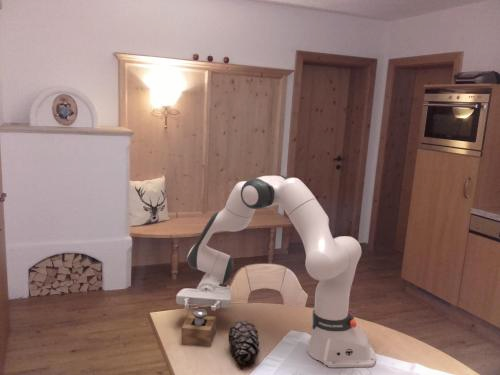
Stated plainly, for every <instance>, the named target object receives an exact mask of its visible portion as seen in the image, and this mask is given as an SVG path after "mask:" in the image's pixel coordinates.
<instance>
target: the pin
mask: <svg viewBox="0 0 500 375" xmlns="http://www.w3.org/2000/svg"><path fill="white" fill-rule="evenodd" d="M192 315H194V316H195V324H194V325H197V326H204V317H206V316H208V311H207V309H204V308H195V309H193V311H192Z"/></svg>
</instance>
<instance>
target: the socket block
mask: <svg viewBox="0 0 500 375" xmlns="http://www.w3.org/2000/svg"><path fill="white" fill-rule="evenodd" d="M194 324H195V316H194V315H193V314H188V315H187V317H186V319H185V320H184V322H183V325H182V326H181V345H185V346H186V345H188V346H189V345H190V346H197V347H198V346H199V347H211V345H212V343H213V340H214V337H215V335H216V330H217V329H216V328H217V316H214V315H213V316H210V315H207V316H206V317H204V326H197V325H194Z"/></svg>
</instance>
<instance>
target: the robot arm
mask: <svg viewBox="0 0 500 375" xmlns="http://www.w3.org/2000/svg"><path fill="white" fill-rule="evenodd" d="M278 205H279V206H281V208H282V209H283V210H284V212H285V213H286V215H287V216H288V218H289V220H290V221H291V223H292V224H293V226H294V229H295V230H296V231H297V233H298V235H299V237H300V239H301V241H302V244H303V247H304V252H305V262H304V263H305V265H304V266H305V269H306V272H307V274H308V275H309V276H310V277H311V278H312V279H314V280H316V281H319V282H318V283H317V285H316V288H315V292H314V294H315V295H314V309H313V310H312V314H311V326H312V330H311V335H310V339H309V343H308V345H307V350H306V352H307V353H308V354H309V356H310V357H311V358H313V359H314V360H317V361H318V360H319V361H318V362H320V361H321V363H322V362H323V363H324V364H323V363H322V364H323V365H324V366H326V365H327V366H328V367H327V366H326V367H327V368H367V367H368V368H369V367H374V365H375V364H376V361H377V357H376V352H375V350H374V348H373V347H372V345H370V343H369V339H368V337H367V335H366V334H365V332H364V331H363V330H362V329H360V328H359V327H358V326H357V322H356V320H355V317H354V315H353V314H352V312H349V306H350V294H351V289H352V284H353V282H354V278H355V274H356V270H357V266H358V263H359V260H360V258H361V257H362V253H363V252H362V247H361V245H360V242H359V241H358V240H357V239H356V238H354V237H353V236H349V235H347V236H345V235H343V236H341V235H340V236H337V237H333V235H332V232H331V230H330V227H329V224H330V220H329V216H328V215H327V213H326V211H325V210H324V208H323V207H322V206H321V204H320V203H319V201H318V200H317V198H316V196H315V195H314V194H313V193H312V191H311V190H310V189H309V187H307V186H306V184H305V183H304V182H303V181H302V180H301V179H299V178H297V177H287V176H285V175H283V174H274V175H263V176H259V177H255V178H251V179H249V180H244V181H243V180H242V181H239V182H236V184H235V186H234V187H233V189H232V190H231V192H230V194H229V196H228V198H227V201H226V204H225V206H224V208H223V209H221V211H217V212H214V213H213V215H212V216H211V217H210V218H209V221H208V222H206V225H205V226H204V228H203V230H202V231H201V233H200V235H199V237H198V238H197V241H196V242H195V244H194V245H193V246H192V247H191V248H190V250H188V251H189V252H188V254H187V257H186V261H187V264H188V265H189V267H190V268H191V269H194V270H197V271H201V272H202V273H203V272H204V275H203V276H202V278H201V281H200V282H199V284H198V285H197V286H196V288H190V287H189V288H187V287H186V288H185V287H184V288H182V289H181V290H179V291H178V292H177V294H176V296H175V302H176V304H177V305H182V306H183V305H184V310H185V309H187V310H189V309H190V308H191V306H193V307H194V306H195V307H207V308H211V309H210V310H211V311H213V312H216V310H218V309H229V308H231V306H232V291H231V286H230V285H228V284H226V283H228V281H229V279H230V278H231V275H232V273H233V271H234V267H235V266H234V265H235V262H234V259H233V257H232V256H231V255H229V254H228V253H225V252H222V251H220V250H217V249H214V248H212V247H210V246H208V245H207V244H208V242H209V241H210V239H211V238H212V236H213V234H215V233H216V232H217V233H218V232H234V233H235V232H240V231H242V230H244V229H246V228H247V227H248V226H249V225H250V223H251V221H252V220H253V217H254V215H255V211H256V210H262V209H264V208H265V209H266V208H271V207H275V206H278Z"/></svg>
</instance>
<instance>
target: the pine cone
mask: <svg viewBox="0 0 500 375" xmlns="http://www.w3.org/2000/svg"><path fill="white" fill-rule="evenodd" d="M227 338H228V343H229V346H230V351H231V355H232V358H233V360H234V362H235V364H236V366H237V367H238V369H240V370H241V371H244V370H245V369H249V368H250V367H252V366H253V365H254V364H255V362H256V357H258V355H259V353H260V348H259V347H260V341H259V339H260V338H259V331H258V329H257V328H256V326H255V324H253V323H251V321H250V322H249V321H247V320H239V321H236V322H234V323H233V324H232V325H231V326H230V328H229V330H228V335H227Z"/></svg>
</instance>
